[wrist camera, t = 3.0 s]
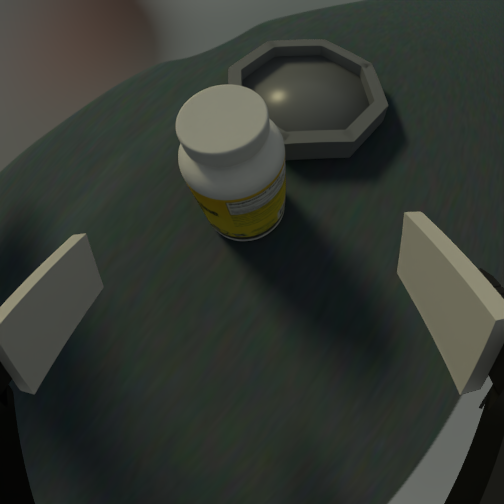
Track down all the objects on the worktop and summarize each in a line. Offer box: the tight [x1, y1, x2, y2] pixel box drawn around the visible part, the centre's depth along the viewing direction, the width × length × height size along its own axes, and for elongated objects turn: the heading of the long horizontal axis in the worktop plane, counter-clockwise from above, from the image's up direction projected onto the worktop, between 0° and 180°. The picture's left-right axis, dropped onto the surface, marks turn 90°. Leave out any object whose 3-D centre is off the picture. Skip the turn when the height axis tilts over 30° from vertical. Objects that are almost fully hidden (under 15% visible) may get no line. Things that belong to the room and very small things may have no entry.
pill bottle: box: [176, 84, 286, 241], centre depth 20 cm, size 6×6×11 cm
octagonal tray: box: [228, 39, 388, 160], centre depth 27 cm, size 14×14×2 cm
